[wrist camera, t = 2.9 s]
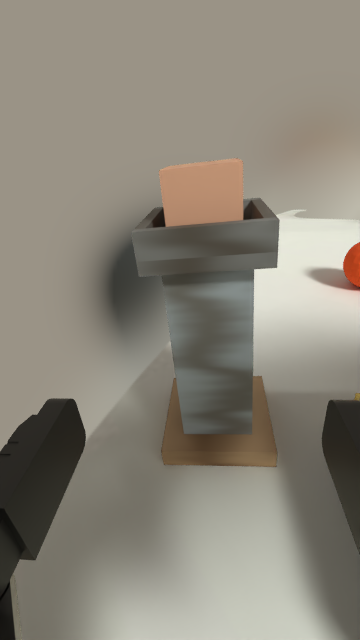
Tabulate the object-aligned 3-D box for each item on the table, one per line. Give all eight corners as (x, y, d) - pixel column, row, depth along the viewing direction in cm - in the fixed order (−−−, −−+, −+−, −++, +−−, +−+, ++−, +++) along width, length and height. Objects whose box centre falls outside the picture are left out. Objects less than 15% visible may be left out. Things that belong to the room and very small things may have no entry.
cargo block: (238, 228, 20) (237, 158, 18) (243, 245, 16) (242, 160, 14) (176, 233, 20) (169, 165, 18) (169, 251, 17) (158, 170, 15)
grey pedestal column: (261, 389, 29) (266, 195, 21) (276, 466, 22) (293, 221, 14) (175, 390, 30) (149, 207, 22) (163, 464, 23) (118, 235, 15)
